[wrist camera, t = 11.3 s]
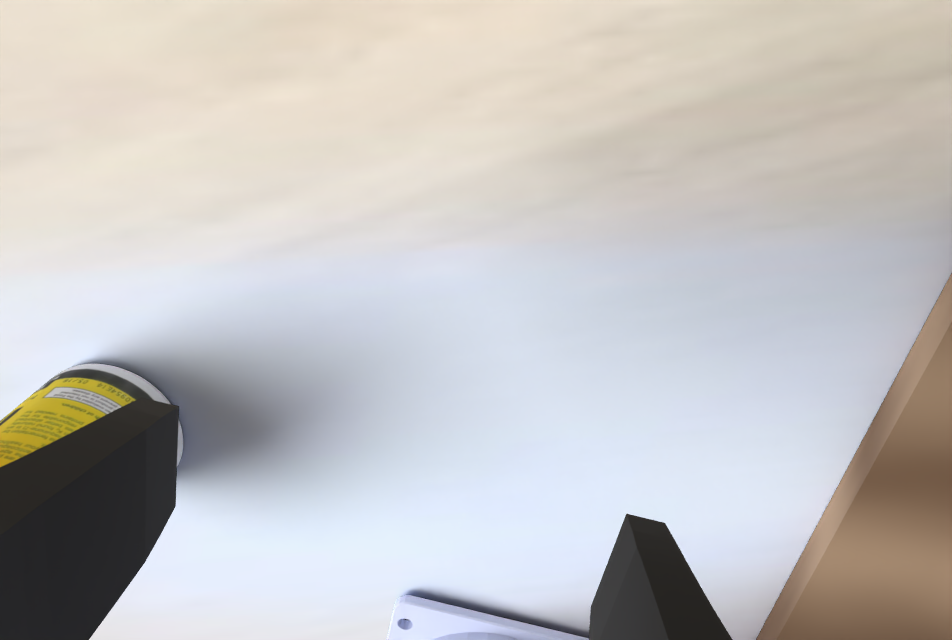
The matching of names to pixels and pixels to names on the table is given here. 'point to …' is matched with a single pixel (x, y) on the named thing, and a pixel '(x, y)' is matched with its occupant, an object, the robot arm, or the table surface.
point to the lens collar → (886, 517)
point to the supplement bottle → (72, 407)
